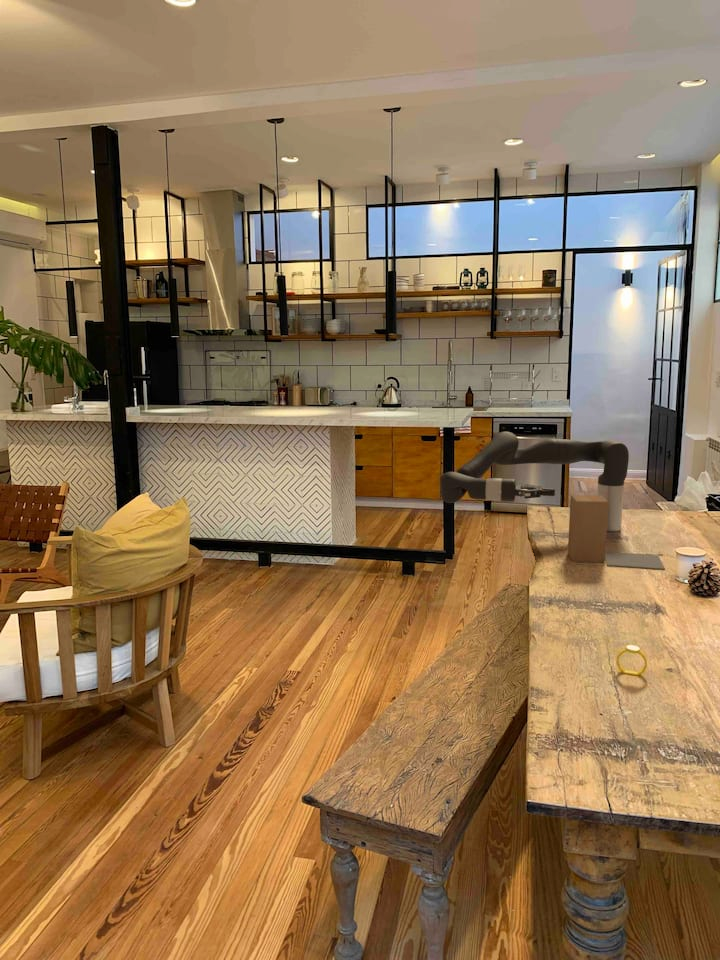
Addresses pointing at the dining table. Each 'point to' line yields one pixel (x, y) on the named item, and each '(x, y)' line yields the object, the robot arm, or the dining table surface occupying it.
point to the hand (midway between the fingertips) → (554, 492)
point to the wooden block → (587, 528)
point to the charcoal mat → (633, 560)
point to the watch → (632, 650)
